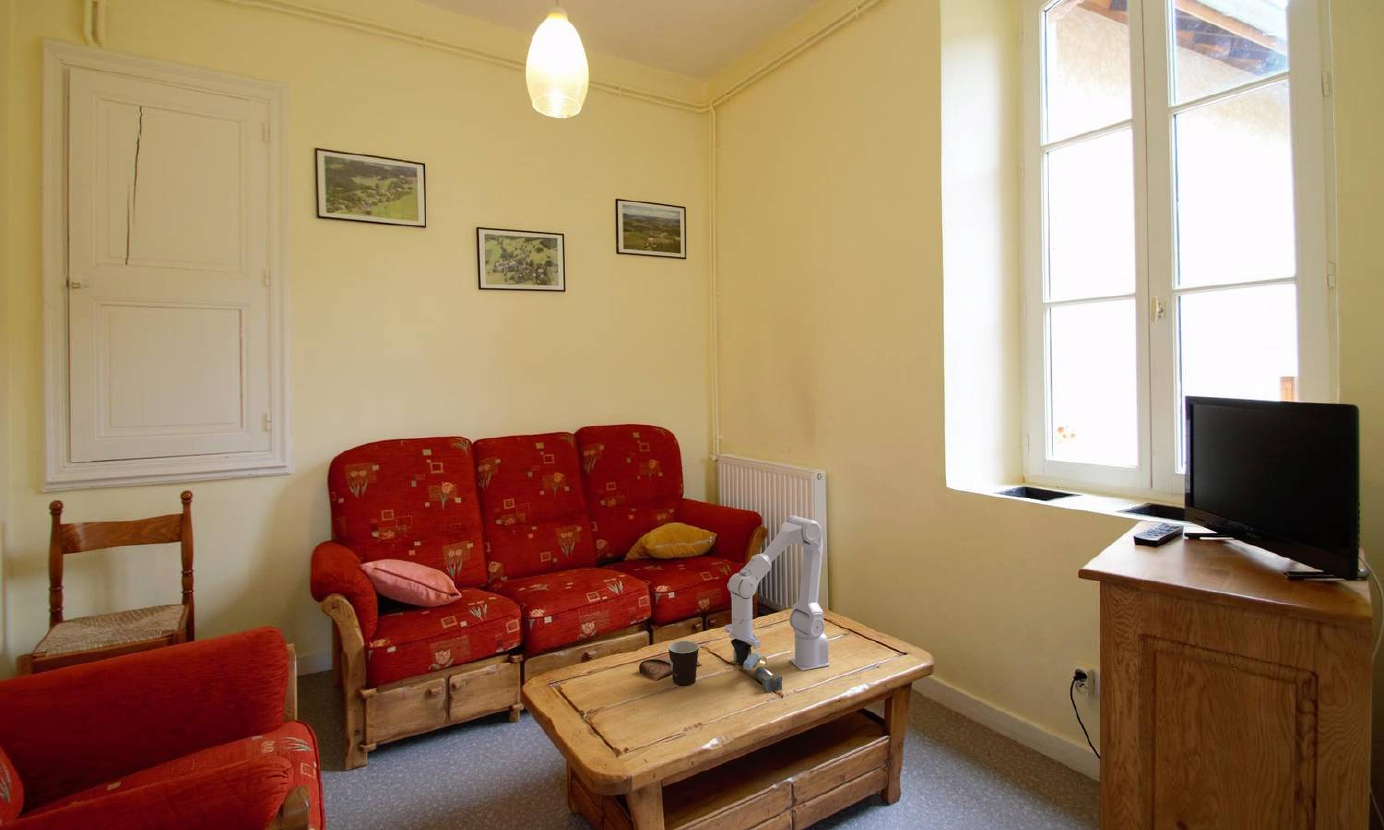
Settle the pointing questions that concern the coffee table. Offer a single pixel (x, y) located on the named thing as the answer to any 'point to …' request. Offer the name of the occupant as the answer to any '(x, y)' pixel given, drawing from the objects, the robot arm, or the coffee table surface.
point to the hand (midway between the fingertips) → (742, 664)
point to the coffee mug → (683, 662)
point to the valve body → (763, 675)
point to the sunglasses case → (657, 667)
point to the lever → (752, 660)
